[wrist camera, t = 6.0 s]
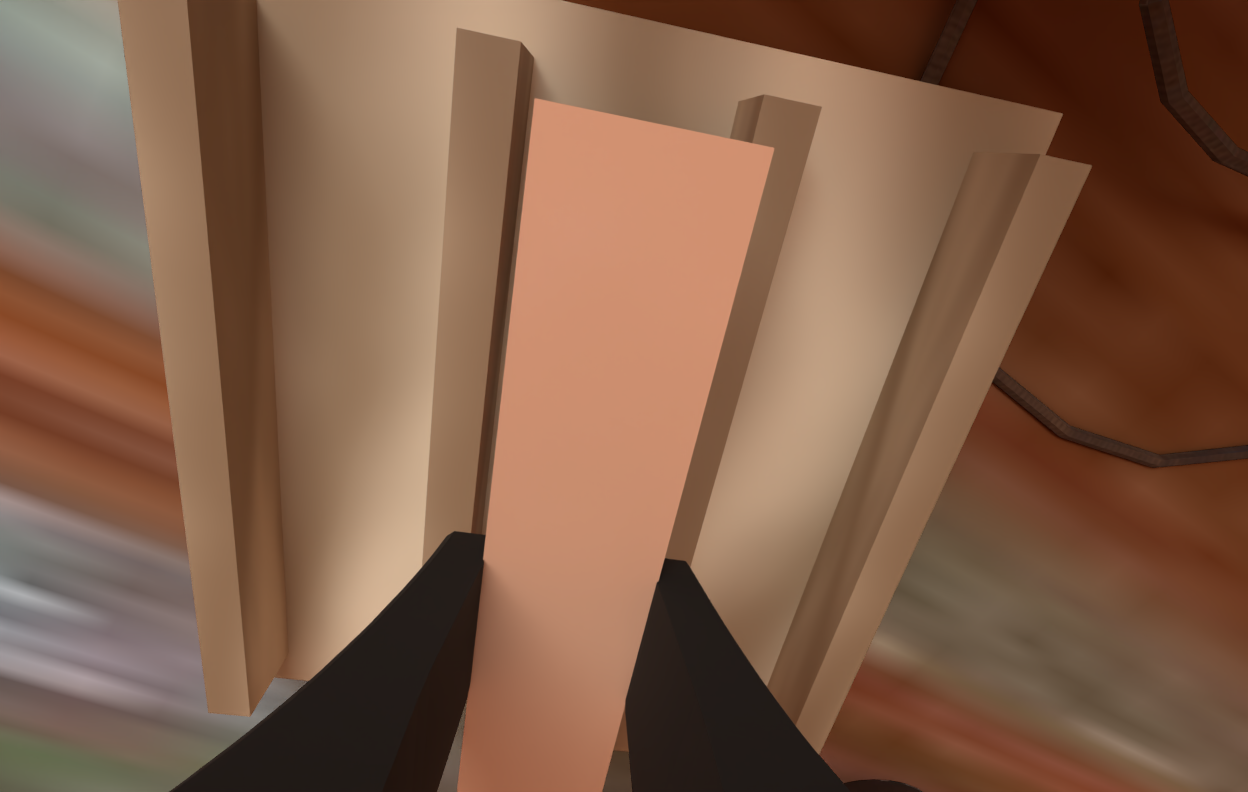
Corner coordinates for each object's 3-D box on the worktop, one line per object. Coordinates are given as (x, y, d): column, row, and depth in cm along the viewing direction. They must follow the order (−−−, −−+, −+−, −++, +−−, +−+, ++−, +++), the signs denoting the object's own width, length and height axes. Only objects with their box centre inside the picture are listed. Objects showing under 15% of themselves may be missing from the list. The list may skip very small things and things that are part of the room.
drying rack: (257, 641, 18) (191, 737, 15) (203, -68, 11) (62, -141, 8) (786, 697, 20) (818, 793, 17) (1023, 115, 13) (1147, 109, 10)
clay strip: (491, 673, 16) (446, 889, 11) (565, 111, 10) (534, 98, 6) (582, 683, 16) (573, 898, 12) (702, 139, 11) (775, 147, 6)
